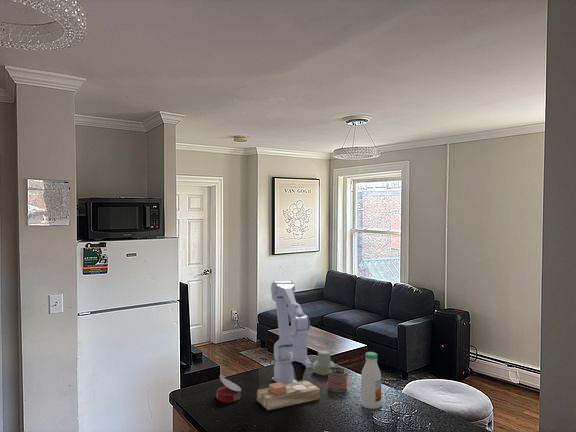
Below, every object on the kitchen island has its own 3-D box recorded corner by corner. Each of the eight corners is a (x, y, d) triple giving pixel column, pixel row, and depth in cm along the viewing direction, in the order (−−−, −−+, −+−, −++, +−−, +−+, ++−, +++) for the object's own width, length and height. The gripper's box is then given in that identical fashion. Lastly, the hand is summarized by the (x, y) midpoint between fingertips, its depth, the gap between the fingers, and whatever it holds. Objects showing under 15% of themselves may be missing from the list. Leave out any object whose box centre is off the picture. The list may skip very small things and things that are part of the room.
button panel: (256, 400, 166) (256, 390, 166) (306, 389, 178) (306, 380, 178) (267, 410, 158) (268, 399, 158) (319, 398, 169) (319, 388, 169)
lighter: (346, 389, 179) (347, 365, 179) (347, 392, 176) (347, 368, 176) (327, 388, 180) (327, 364, 180) (327, 391, 177) (327, 367, 177)
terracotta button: (268, 391, 166) (268, 384, 166) (280, 389, 169) (280, 382, 169) (274, 396, 162) (274, 388, 162) (286, 394, 164) (286, 386, 164)
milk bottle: (369, 411, 158) (369, 357, 159) (356, 403, 165) (357, 351, 166) (385, 407, 162) (385, 354, 162) (372, 399, 169) (373, 349, 169)
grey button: (290, 393, 171) (290, 386, 171) (301, 391, 173) (301, 384, 174) (297, 398, 167) (297, 390, 167) (307, 396, 169) (307, 388, 169)
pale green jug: (336, 371, 200) (336, 350, 200) (334, 377, 192) (334, 355, 192) (313, 369, 203) (314, 348, 203) (310, 375, 195) (311, 353, 195)
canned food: (224, 404, 174) (229, 378, 178) (244, 406, 169) (249, 380, 174) (207, 399, 165) (213, 373, 170) (228, 402, 160) (233, 374, 165)
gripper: (282, 342, 175) (282, 375, 175) (300, 352, 162) (300, 388, 162) (297, 340, 178) (296, 372, 178) (316, 350, 166) (315, 384, 165)
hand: (299, 380), depth 170 cm, fingers closed
